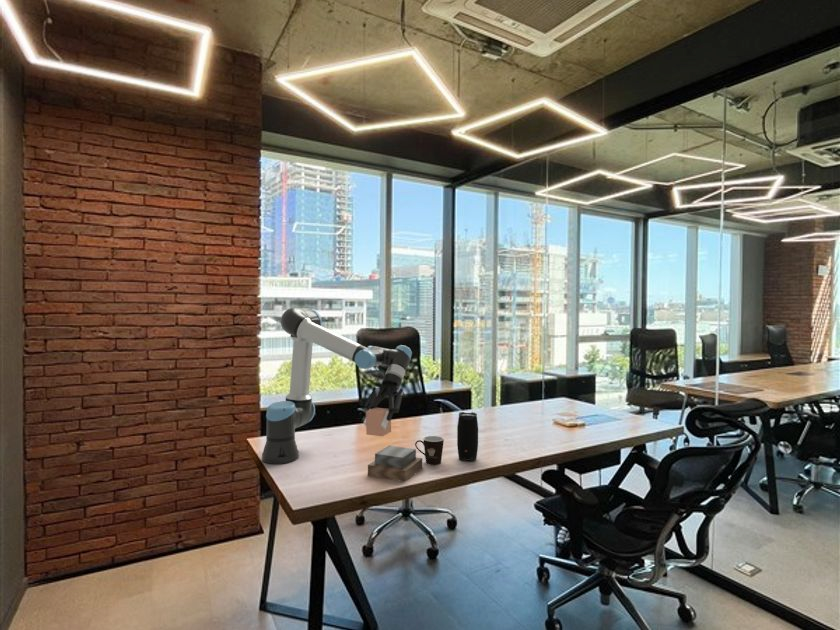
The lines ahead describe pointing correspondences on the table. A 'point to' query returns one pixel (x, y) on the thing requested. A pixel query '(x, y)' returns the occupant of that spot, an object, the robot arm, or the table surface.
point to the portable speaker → (467, 436)
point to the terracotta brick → (376, 422)
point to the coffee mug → (432, 449)
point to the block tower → (395, 463)
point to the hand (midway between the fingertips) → (374, 426)
